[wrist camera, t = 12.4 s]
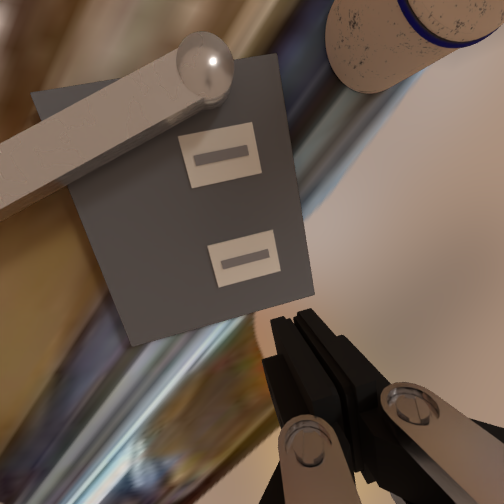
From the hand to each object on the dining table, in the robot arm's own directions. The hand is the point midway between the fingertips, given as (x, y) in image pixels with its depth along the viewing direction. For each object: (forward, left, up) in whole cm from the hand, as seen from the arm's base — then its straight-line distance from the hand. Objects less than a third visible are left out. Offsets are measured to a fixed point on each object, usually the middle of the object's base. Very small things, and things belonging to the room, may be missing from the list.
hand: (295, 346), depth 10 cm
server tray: (+3, -5, -15) cm, 16 cm away
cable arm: (+9, -11, -13) cm, 19 cm away
